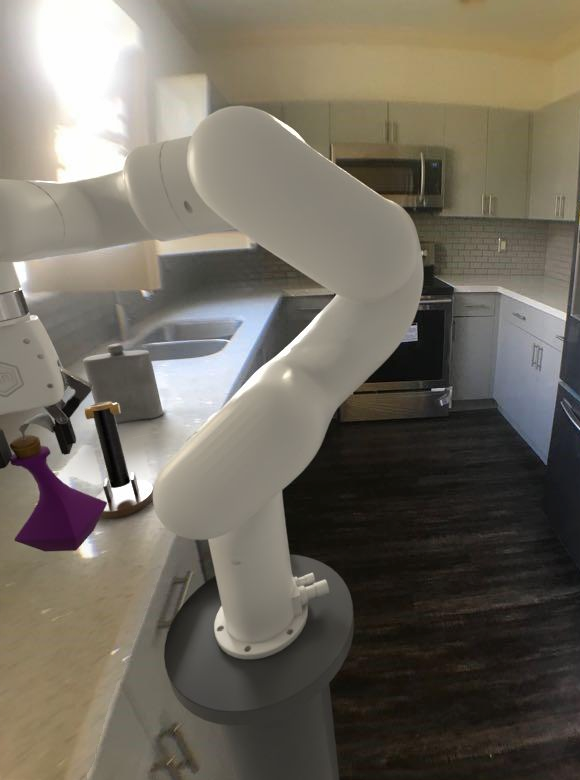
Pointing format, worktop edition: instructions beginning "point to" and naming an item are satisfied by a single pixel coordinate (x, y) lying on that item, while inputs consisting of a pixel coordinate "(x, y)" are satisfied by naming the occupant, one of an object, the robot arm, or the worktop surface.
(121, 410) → the flask
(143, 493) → the holder base
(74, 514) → the perfume bottle
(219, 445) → the robot arm
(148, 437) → the worktop surface
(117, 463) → the rod
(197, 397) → the worktop surface
